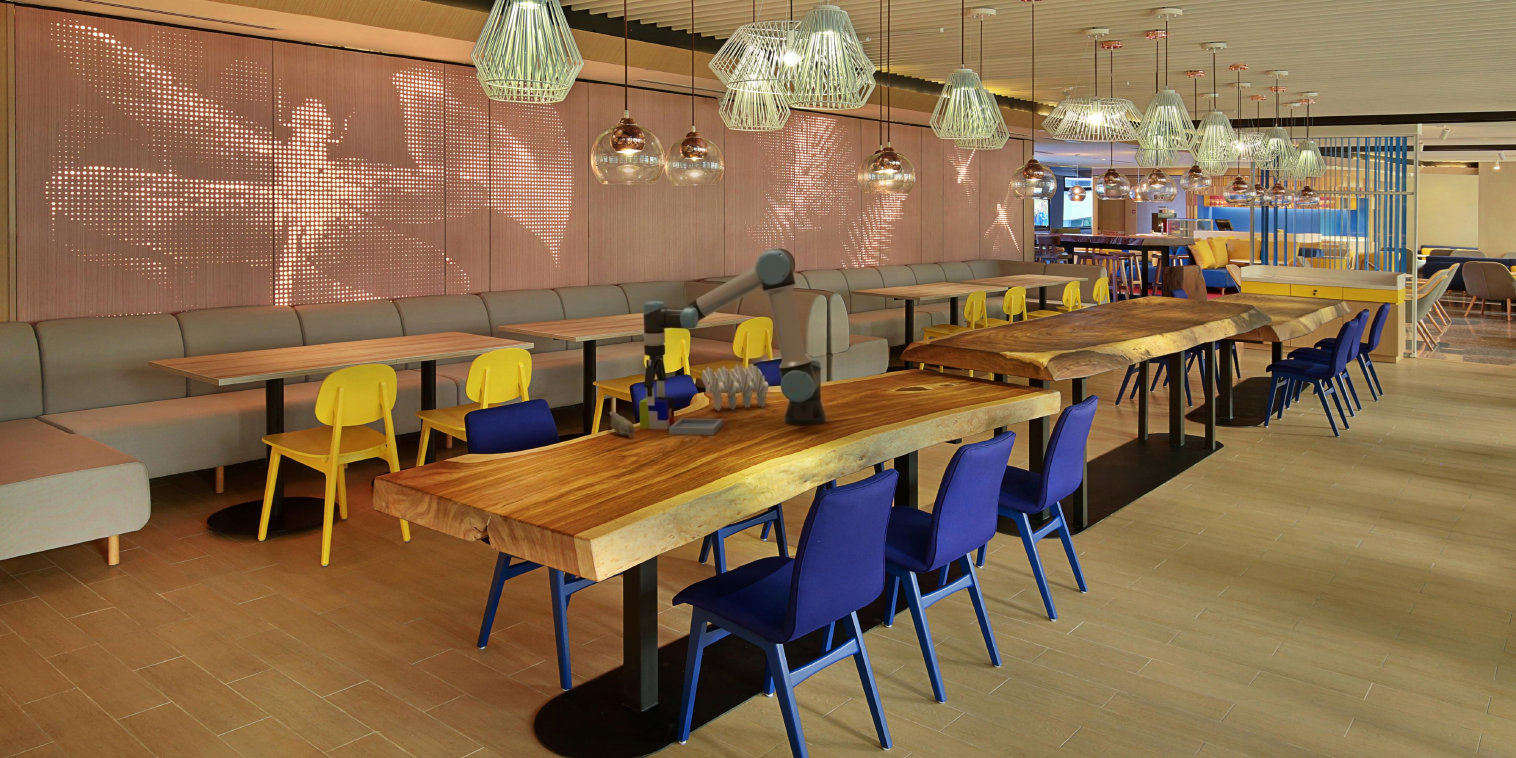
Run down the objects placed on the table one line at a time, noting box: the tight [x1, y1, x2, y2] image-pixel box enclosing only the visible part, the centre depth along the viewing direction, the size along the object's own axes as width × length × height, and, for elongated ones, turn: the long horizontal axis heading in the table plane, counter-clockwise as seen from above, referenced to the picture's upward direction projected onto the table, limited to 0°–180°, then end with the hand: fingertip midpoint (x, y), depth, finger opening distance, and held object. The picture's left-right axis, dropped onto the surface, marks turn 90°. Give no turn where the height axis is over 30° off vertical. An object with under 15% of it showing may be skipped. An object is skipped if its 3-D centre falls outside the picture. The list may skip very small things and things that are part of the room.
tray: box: [668, 417, 724, 436], centre depth 370 cm, size 16×16×2 cm
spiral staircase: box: [701, 363, 769, 412], centre depth 406 cm, size 18×18×25 cm
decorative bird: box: [607, 410, 635, 440], centre depth 364 cm, size 5×16×8 cm, turn 33°
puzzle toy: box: [638, 396, 675, 430], centre depth 377 cm, size 10×10×10 cm
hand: (655, 401), depth 377 cm, fingers open, 13 cm apart
